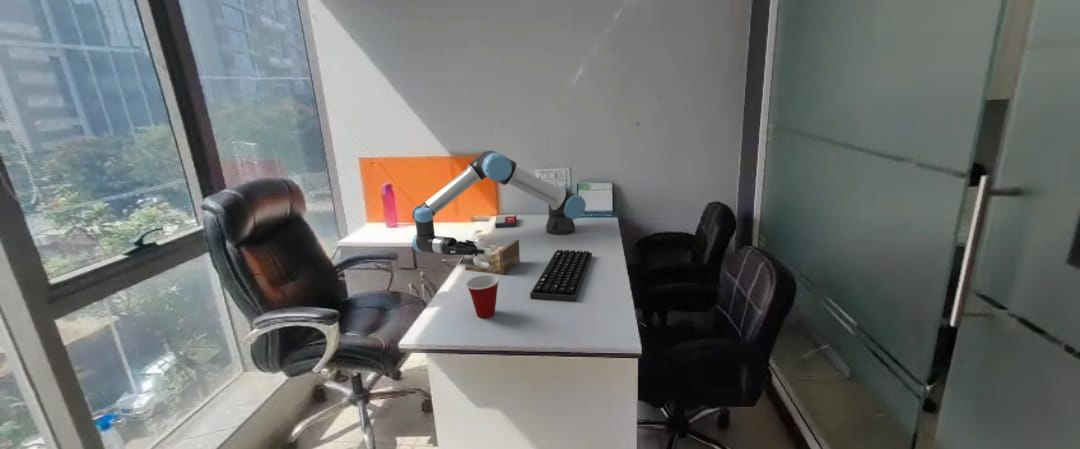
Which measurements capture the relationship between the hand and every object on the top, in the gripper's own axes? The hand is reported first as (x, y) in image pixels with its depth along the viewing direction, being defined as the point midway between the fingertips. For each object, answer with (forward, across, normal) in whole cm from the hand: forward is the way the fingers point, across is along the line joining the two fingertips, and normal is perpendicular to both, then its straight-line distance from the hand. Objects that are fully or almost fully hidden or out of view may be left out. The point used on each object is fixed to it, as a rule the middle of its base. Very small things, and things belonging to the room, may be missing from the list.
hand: (493, 250), depth 188 cm
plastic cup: (+17, +40, -7) cm, 44 cm away
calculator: (-25, -61, -8) cm, 66 cm away
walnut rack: (-1, 0, -7) cm, 7 cm away
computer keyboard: (+31, +1, -8) cm, 32 cm away
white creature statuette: (-5, 0, -7) cm, 9 cm away
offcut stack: (+3, 0, -7) cm, 8 cm away
